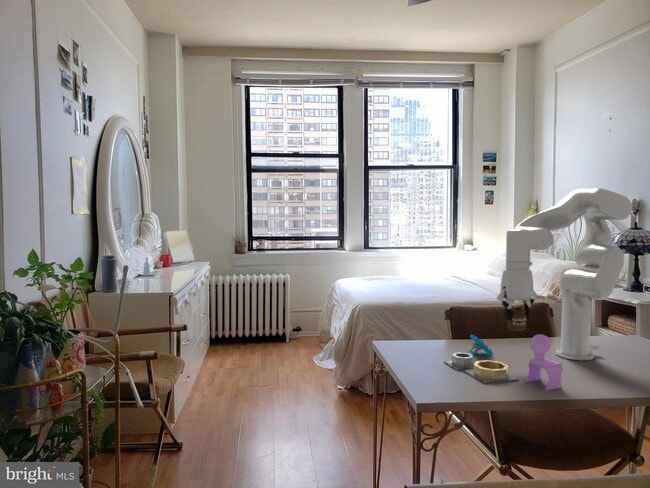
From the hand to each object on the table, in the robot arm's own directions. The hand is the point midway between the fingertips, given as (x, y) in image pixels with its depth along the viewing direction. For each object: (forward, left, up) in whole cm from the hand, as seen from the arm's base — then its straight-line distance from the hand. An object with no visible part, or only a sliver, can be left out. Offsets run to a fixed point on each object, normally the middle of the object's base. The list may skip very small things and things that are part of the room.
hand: (516, 318), depth 174 cm
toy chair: (+2, +17, -17) cm, 24 cm away
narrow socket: (+17, -6, -17) cm, 24 cm away
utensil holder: (0, 0, -4) cm, 4 cm away
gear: (+3, -16, -17) cm, 24 cm away
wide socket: (+14, +6, -17) cm, 22 cm away
